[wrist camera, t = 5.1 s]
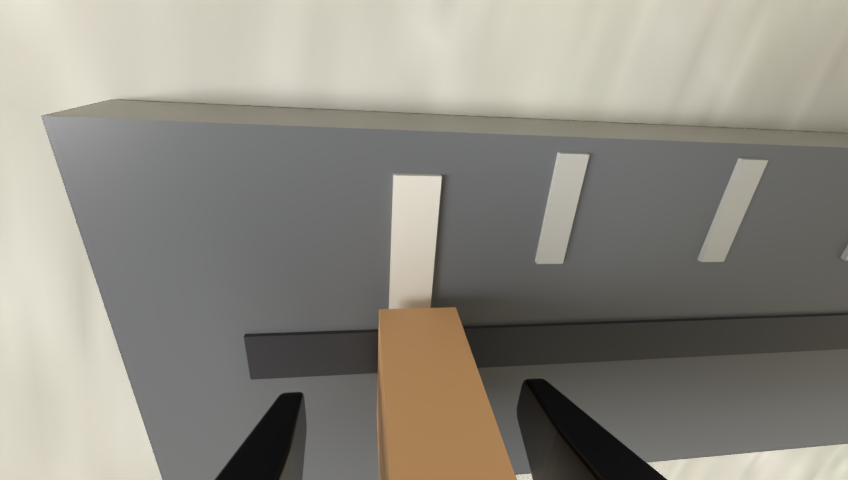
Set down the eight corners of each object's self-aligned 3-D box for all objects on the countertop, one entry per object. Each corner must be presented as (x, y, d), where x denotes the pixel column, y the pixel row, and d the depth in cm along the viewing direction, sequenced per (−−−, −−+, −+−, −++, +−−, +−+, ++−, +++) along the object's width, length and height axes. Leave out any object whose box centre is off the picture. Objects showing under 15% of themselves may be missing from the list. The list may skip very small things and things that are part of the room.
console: (803, 397, 16) (863, 445, 14) (198, 440, 12) (170, 511, 11) (970, 139, 11) (1090, 158, 10) (111, 99, 8) (36, 117, 6)
